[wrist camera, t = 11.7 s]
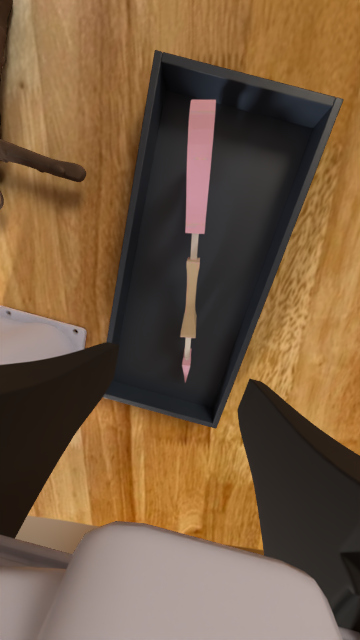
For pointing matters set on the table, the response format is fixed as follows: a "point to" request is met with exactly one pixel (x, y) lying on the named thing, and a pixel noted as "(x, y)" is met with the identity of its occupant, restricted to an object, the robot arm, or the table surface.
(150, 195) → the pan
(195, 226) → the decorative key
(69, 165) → the bear figurine
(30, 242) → the table surface
